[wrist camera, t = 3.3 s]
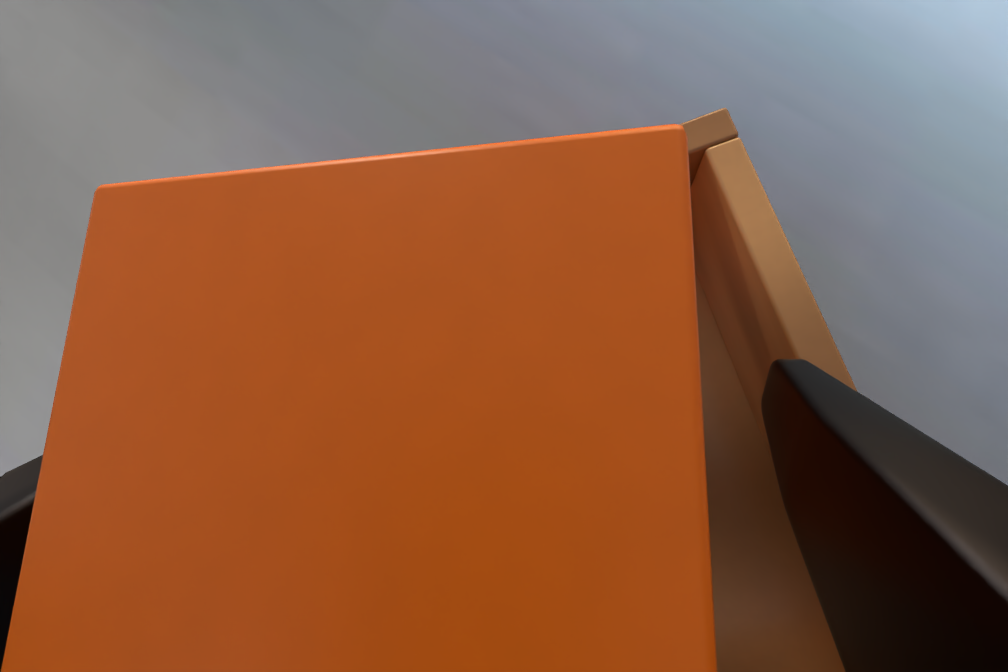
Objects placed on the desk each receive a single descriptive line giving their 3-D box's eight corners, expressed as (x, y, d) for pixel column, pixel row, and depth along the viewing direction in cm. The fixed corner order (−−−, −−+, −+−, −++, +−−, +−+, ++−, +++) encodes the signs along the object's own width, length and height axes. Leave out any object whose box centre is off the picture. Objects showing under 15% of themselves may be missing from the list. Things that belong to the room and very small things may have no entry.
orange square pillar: (623, 528, 13) (743, 1085, 2) (454, 516, 14) (-43, 848, 3) (619, 352, 14) (688, 116, 3) (460, 353, 15) (90, 181, 4)
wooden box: (893, 703, 11) (1093, 897, 7) (375, 792, 14) (258, 986, 9) (686, 203, 15) (727, 104, 10) (297, 337, 17) (183, 306, 12)
